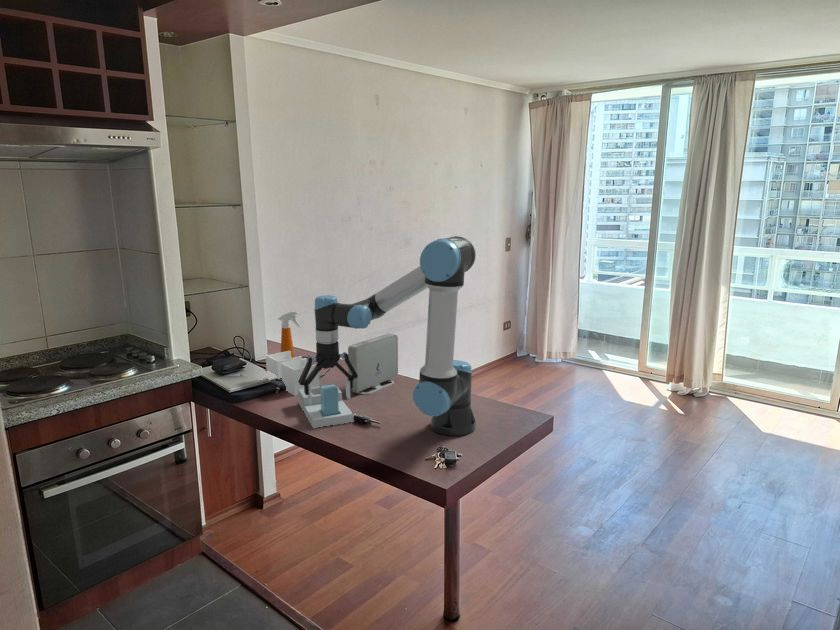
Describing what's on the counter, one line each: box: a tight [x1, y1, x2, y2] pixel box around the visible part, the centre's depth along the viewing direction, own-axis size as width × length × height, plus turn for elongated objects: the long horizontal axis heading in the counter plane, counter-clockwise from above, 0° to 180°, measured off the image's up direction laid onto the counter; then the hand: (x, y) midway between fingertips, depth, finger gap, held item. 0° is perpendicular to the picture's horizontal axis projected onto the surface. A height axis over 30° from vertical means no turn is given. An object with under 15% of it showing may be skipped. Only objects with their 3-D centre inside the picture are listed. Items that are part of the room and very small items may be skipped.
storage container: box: [265, 351, 321, 397], centre depth 231 cm, size 25×11×11 cm, turn 40°
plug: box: [320, 384, 339, 417], centre depth 196 cm, size 6×5×12 cm
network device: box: [347, 333, 399, 396], centre depth 227 cm, size 26×9×20 cm, turn 143°
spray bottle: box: [278, 310, 303, 358], centre depth 251 cm, size 7×11×26 cm, turn 86°
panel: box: [298, 383, 354, 429], centre depth 202 cm, size 24×14×6 cm, turn 23°
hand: (329, 400), depth 195 cm, fingers open, 13 cm apart
